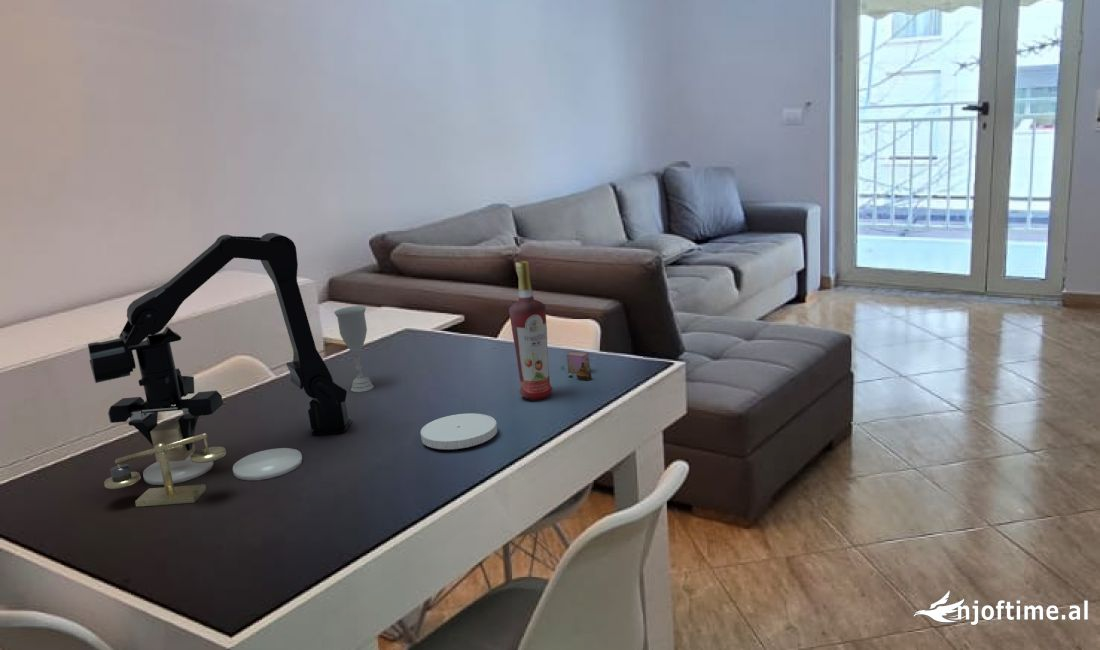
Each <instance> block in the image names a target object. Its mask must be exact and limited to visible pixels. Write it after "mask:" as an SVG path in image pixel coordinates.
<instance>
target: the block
mask: <svg viewBox="0 0 1100 650" xmlns="http://www.w3.org/2000/svg"><path fill="white" fill-rule="evenodd" d="M150 433H151V438H152V442H153V445H152V447H153V448H155V446H156V445H157V444H158V443H164V444H169V443H173V442H176V441H180V440H183V436H182V432H181V429H180V425H179V422H178V419H177V420H176V419H174V420H163V421H161V422H160V423H158V425H157V426H156V427H155V428H154V429H152V430H151V431H150ZM196 451H197V450H196V445H195V442H193V445H192V449H191V450H190V451H188V450H187V448H186V446H185V445H182V446H178V447H175V448H171V449H168V450H167V457H168V462H172V461H184V460H185V459H186V458H187V457H188V456H189V455H191V454H192V453H194V452H196ZM154 455H155V461H156V462H157V463H159V459H158V454H157V453H154Z"/></svg>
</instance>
